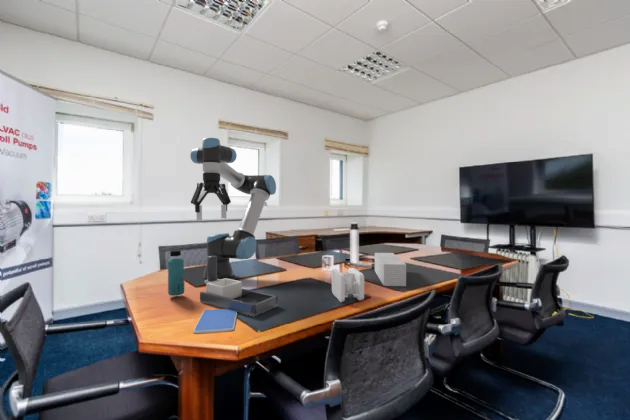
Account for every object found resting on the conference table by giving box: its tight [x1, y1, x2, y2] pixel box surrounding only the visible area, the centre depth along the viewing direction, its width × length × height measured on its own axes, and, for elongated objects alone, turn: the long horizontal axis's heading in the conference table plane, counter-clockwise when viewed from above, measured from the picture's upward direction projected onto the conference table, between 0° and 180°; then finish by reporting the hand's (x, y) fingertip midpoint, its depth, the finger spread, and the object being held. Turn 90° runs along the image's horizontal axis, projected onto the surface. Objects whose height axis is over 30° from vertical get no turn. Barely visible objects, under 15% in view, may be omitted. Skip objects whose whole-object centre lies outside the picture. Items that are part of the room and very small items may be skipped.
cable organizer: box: [331, 267, 365, 303], centre depth 129 cm, size 15×11×12 cm
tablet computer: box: [192, 308, 238, 334], centre depth 105 cm, size 19×13×1 cm, turn 10°
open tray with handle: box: [203, 255, 243, 299], centre depth 126 cm, size 10×14×16 cm
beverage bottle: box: [167, 249, 186, 297], centre depth 130 cm, size 6×7×20 cm
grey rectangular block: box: [374, 252, 407, 287], centre depth 162 cm, size 32×11×11 cm, turn 177°
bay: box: [199, 287, 279, 318], centre depth 121 cm, size 13×30×4 cm, turn 57°
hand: (212, 219), depth 139 cm, fingers open, 13 cm apart
